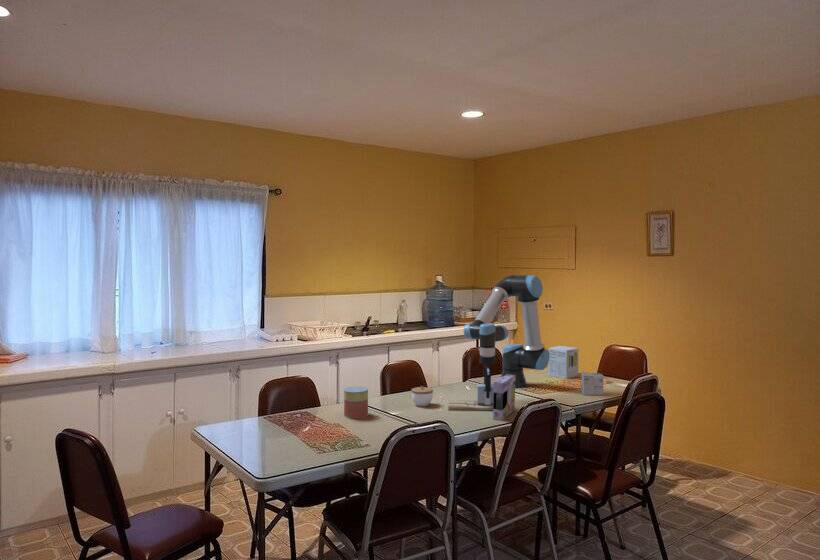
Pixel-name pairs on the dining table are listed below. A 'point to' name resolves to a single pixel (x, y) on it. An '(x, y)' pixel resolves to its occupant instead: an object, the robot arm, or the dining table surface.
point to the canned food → (356, 402)
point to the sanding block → (483, 394)
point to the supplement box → (563, 362)
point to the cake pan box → (503, 396)
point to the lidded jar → (422, 395)
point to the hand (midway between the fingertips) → (487, 402)
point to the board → (467, 405)
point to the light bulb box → (592, 384)
